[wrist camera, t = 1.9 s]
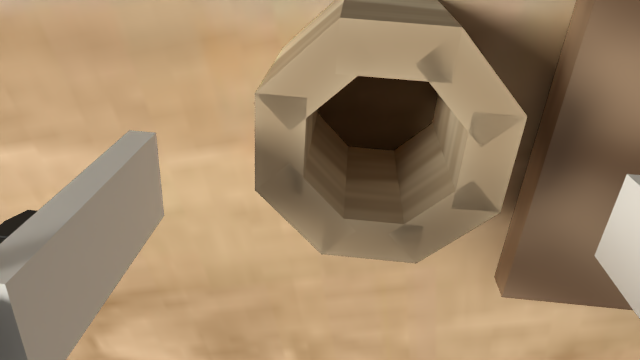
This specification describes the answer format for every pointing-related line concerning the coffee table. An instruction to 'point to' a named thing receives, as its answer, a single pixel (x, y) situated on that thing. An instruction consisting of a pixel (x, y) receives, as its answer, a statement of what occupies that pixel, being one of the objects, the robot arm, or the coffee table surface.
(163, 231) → the coffee table surface
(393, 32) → the collar
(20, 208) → the coffee table surface
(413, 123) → the coffee table surface
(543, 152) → the post base
